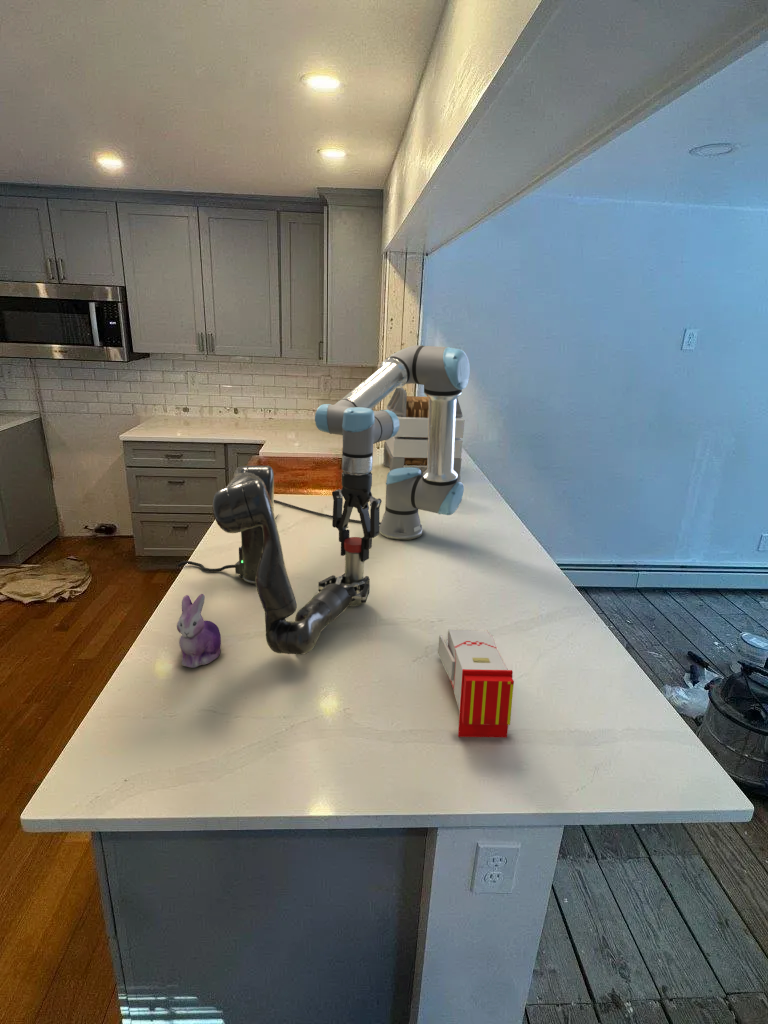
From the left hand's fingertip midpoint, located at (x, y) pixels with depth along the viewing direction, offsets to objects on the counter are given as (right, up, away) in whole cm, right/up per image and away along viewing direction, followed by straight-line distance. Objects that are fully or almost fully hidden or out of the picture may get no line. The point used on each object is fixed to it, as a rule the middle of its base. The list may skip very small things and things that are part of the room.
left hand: (358, 577), depth 153 cm
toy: (+25, -20, -34) cm, 47 cm away
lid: (-1, +10, -6) cm, 12 cm away
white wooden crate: (+24, +36, +122) cm, 130 cm away
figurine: (-34, -15, -27) cm, 45 cm away
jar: (-1, -7, 0) cm, 7 cm away
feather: (-33, +15, +56) cm, 66 cm away
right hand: (-1, +6, -5) cm, 8 cm away
